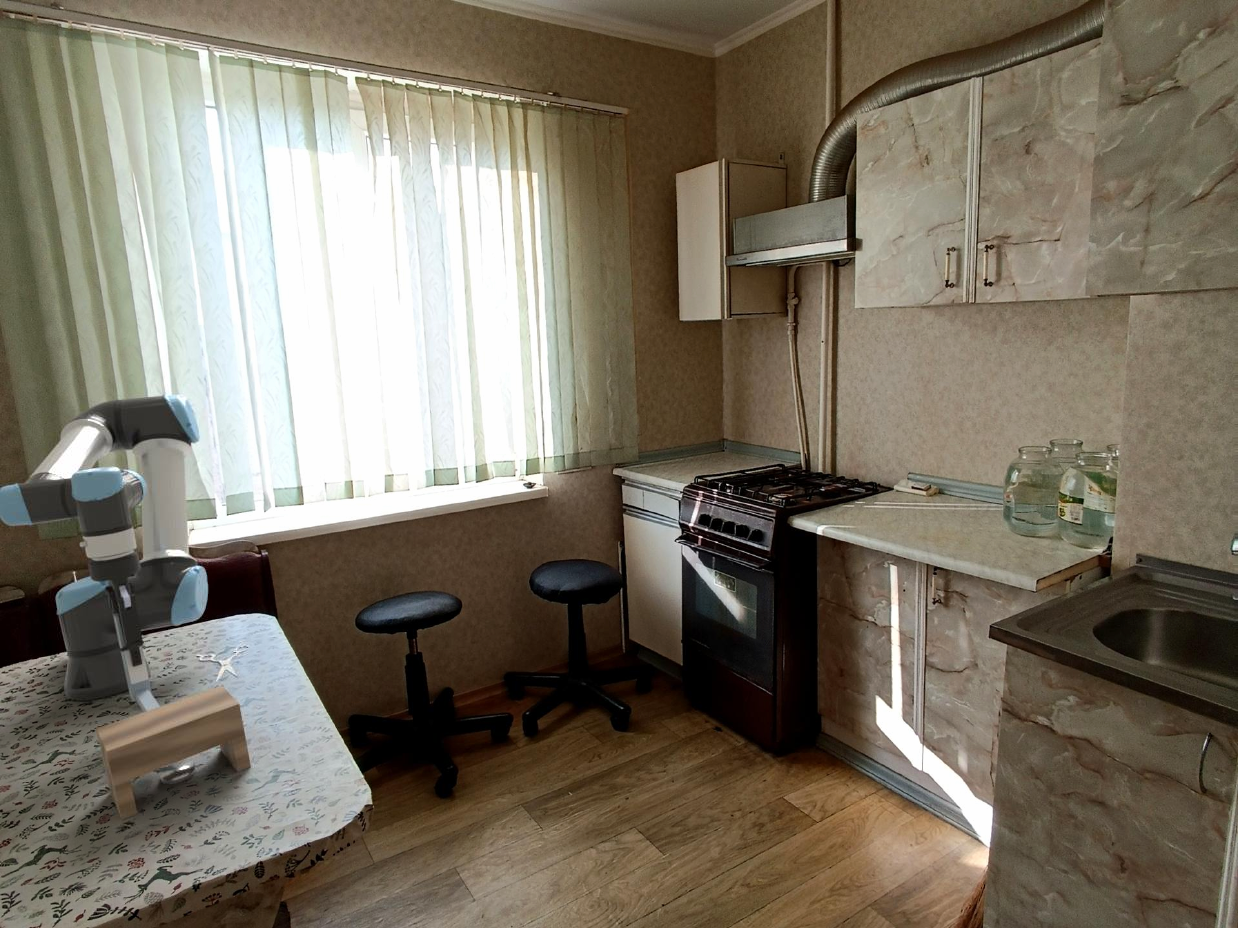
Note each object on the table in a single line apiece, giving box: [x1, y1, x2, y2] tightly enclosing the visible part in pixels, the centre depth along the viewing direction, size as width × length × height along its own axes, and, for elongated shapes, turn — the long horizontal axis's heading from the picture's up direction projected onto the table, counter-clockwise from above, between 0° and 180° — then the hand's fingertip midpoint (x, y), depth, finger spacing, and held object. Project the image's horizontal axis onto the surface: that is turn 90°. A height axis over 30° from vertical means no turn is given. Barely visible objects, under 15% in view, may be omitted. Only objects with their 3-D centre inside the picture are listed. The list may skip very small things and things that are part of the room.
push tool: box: [113, 613, 161, 713], centre depth 132 cm, size 19×6×16 cm, turn 42°
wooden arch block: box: [95, 685, 252, 821], centre depth 120 cm, size 10×18×11 cm, turn 132°
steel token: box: [159, 759, 197, 785], centre depth 122 cm, size 5×5×1 cm
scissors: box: [195, 645, 250, 683], centre depth 166 cm, size 11×1×20 cm
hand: (137, 678), depth 138 cm, fingers closed on push tool, 3 cm apart
